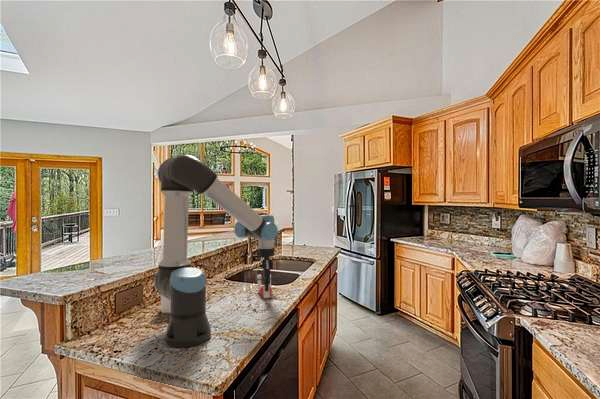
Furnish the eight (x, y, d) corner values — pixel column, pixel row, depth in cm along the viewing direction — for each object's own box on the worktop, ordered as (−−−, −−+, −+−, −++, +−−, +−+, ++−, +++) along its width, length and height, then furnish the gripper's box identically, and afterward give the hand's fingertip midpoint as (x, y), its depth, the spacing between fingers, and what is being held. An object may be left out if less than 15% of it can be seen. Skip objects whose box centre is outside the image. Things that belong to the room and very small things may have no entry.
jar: (160, 308, 137) (160, 281, 137) (179, 305, 141) (179, 279, 141) (161, 314, 129) (161, 286, 129) (182, 311, 133) (182, 283, 133)
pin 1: (261, 292, 159) (261, 275, 159) (257, 293, 159) (257, 275, 159) (261, 291, 161) (261, 274, 161) (257, 292, 161) (257, 274, 161)
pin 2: (271, 292, 160) (271, 275, 160) (267, 292, 160) (267, 275, 160) (270, 291, 162) (270, 274, 162) (266, 291, 162) (266, 274, 162)
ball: (270, 283, 156) (272, 295, 155) (258, 285, 155) (260, 297, 154) (271, 284, 151) (273, 296, 150) (259, 286, 149) (260, 299, 148)
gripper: (275, 249, 140) (276, 301, 140) (272, 245, 153) (273, 292, 153) (259, 250, 139) (259, 302, 139) (257, 245, 152) (257, 293, 152)
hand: (266, 297), depth 146 cm, fingers closed
